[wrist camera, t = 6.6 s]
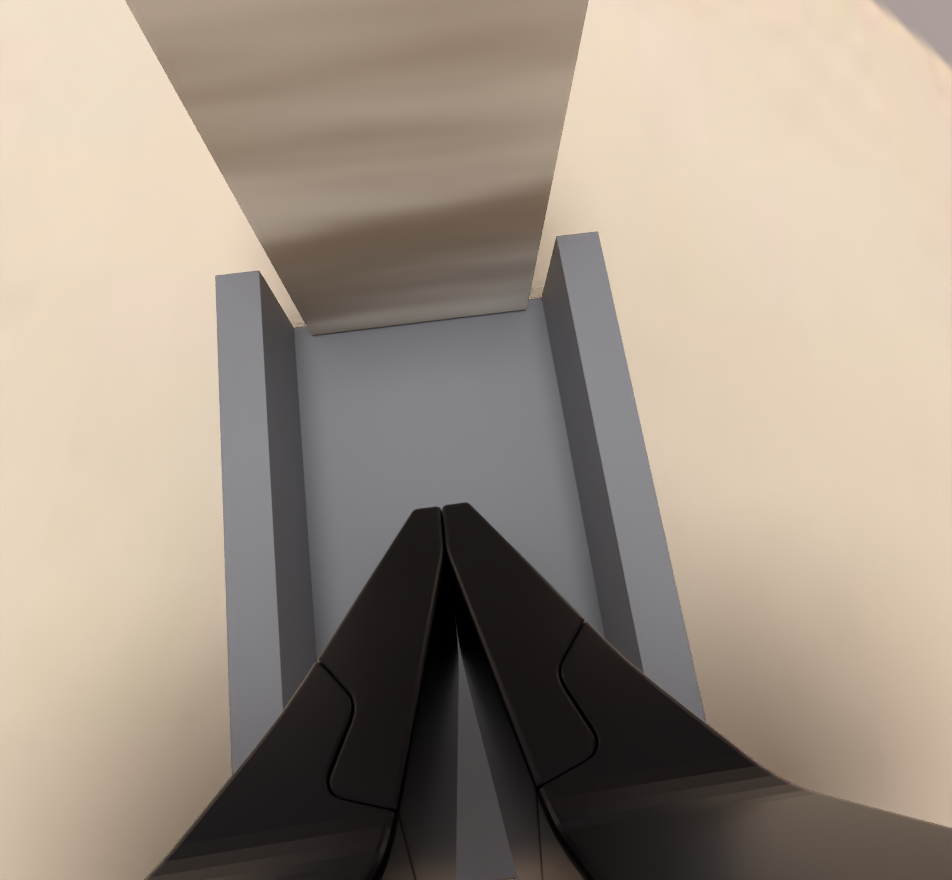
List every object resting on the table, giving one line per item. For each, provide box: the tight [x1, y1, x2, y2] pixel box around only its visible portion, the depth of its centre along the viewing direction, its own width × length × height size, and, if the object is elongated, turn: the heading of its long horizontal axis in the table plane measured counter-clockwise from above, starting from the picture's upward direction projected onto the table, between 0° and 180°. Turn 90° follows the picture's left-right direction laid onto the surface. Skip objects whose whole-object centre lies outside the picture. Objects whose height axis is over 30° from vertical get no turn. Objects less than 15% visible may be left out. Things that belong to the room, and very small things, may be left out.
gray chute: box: [215, 232, 706, 880], centre depth 15 cm, size 14×10×4 cm
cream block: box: [125, 0, 588, 335], centre depth 13 cm, size 4×6×10 cm, turn 98°
